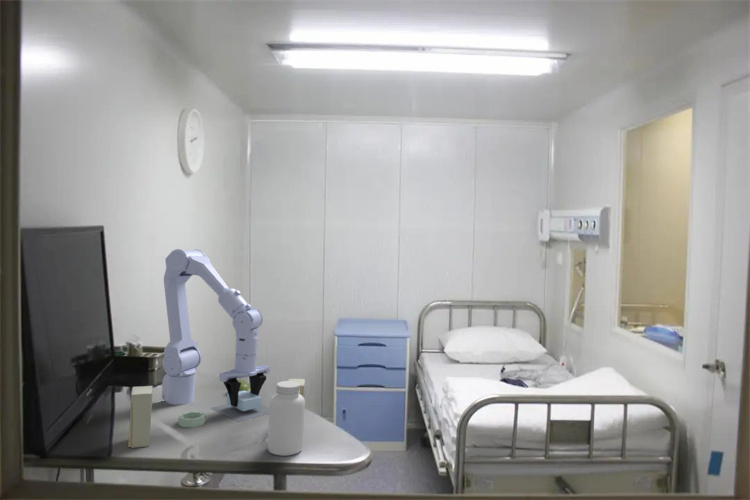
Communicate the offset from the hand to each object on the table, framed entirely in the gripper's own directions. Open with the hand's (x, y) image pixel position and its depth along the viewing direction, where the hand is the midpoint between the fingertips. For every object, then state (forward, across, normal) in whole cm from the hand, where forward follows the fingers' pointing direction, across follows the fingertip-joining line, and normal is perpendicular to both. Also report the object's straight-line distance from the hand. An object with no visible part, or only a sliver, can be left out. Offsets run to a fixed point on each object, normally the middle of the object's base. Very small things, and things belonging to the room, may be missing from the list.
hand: (243, 403), depth 132 cm
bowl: (+3, -15, 0) cm, 15 cm away
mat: (+3, 0, 0) cm, 3 cm away
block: (0, 0, 0) cm, 0 cm away
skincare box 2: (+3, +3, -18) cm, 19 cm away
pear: (+3, +7, +11) cm, 14 cm away
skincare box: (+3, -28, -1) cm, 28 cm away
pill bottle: (+3, -6, -26) cm, 27 cm away
